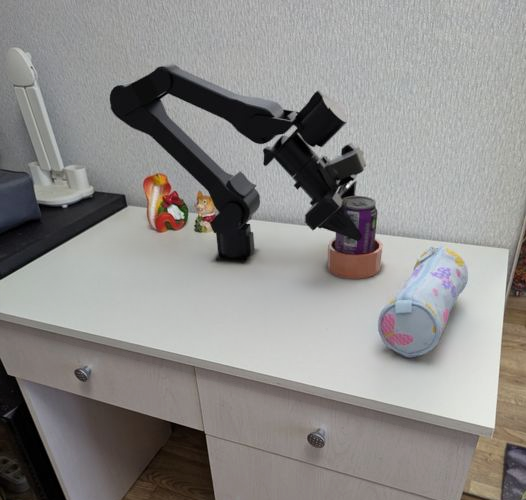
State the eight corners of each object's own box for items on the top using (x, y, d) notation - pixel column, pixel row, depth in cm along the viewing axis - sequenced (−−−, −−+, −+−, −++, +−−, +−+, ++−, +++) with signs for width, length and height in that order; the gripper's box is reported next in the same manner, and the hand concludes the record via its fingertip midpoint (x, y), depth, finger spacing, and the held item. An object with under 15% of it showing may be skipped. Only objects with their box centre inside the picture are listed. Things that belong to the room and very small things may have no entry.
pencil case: (411, 289, 85) (419, 237, 80) (464, 300, 81) (476, 246, 76) (371, 353, 70) (377, 295, 65) (433, 369, 67) (445, 309, 61)
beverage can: (379, 268, 91) (386, 204, 84) (346, 275, 89) (350, 211, 82) (359, 253, 97) (364, 192, 90) (327, 260, 95) (330, 198, 88)
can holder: (323, 276, 91) (324, 253, 88) (332, 254, 98) (333, 232, 96) (377, 281, 88) (380, 257, 86) (382, 258, 96) (384, 236, 93)
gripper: (326, 145, 73) (394, 222, 77) (348, 119, 88) (404, 185, 91) (277, 194, 80) (341, 263, 83) (304, 163, 94) (358, 223, 98)
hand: (363, 231), depth 89 cm, fingers closed on beverage can, 7 cm apart
